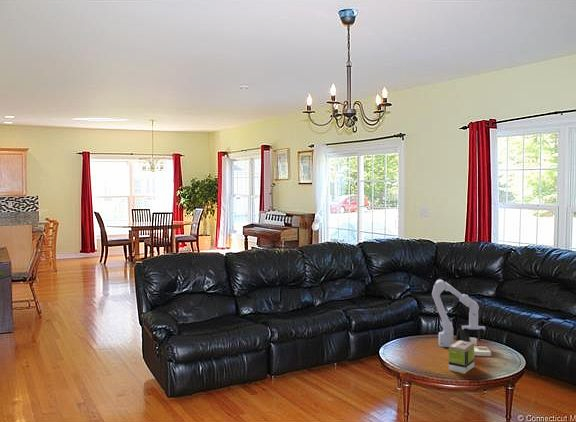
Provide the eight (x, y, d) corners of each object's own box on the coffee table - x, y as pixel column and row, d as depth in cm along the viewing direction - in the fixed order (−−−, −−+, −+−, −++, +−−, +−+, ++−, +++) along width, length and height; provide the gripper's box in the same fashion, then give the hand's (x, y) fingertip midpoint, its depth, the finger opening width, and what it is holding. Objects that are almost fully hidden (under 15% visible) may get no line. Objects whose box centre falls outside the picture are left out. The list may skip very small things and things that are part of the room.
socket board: (464, 355, 339) (464, 351, 339) (460, 349, 350) (461, 345, 350) (490, 356, 337) (490, 352, 337) (486, 350, 348) (486, 346, 348)
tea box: (458, 363, 324) (458, 339, 323) (474, 367, 318) (475, 342, 317) (448, 370, 313) (448, 345, 312) (464, 374, 306) (465, 348, 305)
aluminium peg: (470, 348, 354) (470, 339, 353) (469, 346, 357) (469, 337, 357) (476, 348, 353) (476, 339, 353) (475, 346, 357) (475, 337, 357)
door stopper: (470, 343, 364) (470, 325, 363) (462, 343, 363) (463, 326, 362) (462, 339, 373) (463, 322, 372) (455, 340, 371) (455, 322, 370)
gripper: (463, 321, 351) (463, 341, 352) (486, 321, 349) (486, 342, 350) (461, 318, 358) (460, 338, 359) (483, 319, 356) (483, 339, 357)
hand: (473, 340), depth 355 cm, fingers open, 7 cm apart
